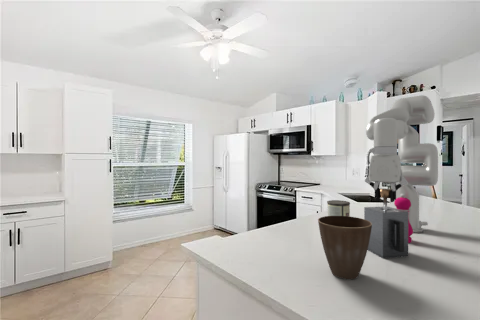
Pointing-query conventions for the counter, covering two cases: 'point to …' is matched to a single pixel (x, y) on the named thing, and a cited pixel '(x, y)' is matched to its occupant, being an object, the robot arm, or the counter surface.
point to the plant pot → (345, 243)
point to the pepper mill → (405, 205)
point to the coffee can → (338, 208)
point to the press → (388, 231)
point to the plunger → (384, 196)
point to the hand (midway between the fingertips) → (385, 200)
